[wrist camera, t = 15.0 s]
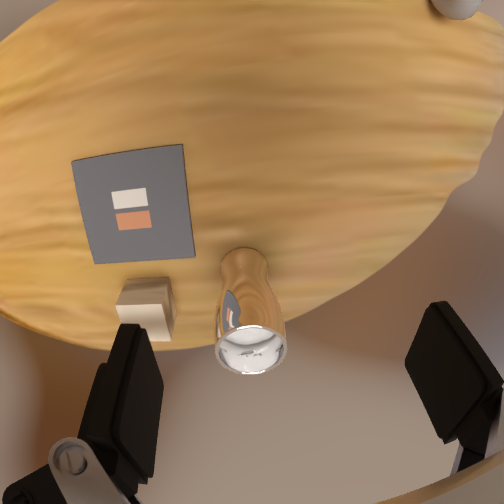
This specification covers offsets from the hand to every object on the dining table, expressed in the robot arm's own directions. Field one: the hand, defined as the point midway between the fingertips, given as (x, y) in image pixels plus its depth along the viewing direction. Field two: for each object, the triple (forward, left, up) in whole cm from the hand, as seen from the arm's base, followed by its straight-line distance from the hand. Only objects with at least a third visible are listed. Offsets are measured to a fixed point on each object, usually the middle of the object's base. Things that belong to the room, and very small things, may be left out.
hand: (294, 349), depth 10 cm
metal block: (+17, -14, -28) cm, 36 cm away
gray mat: (+4, -14, -28) cm, 32 cm away
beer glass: (+13, -1, -28) cm, 31 cm away
